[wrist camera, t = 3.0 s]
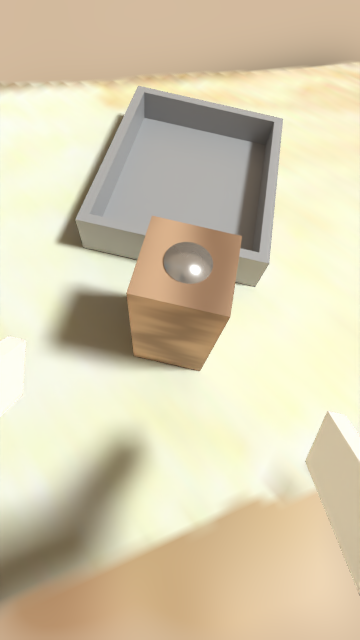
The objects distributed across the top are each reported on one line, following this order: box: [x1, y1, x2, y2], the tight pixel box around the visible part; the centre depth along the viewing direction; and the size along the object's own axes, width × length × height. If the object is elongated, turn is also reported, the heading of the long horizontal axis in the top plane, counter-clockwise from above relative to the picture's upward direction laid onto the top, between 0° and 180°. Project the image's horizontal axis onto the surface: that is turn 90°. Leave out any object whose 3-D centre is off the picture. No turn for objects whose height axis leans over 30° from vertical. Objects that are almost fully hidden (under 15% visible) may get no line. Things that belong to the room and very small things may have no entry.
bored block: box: [126, 216, 242, 371], centre depth 24 cm, size 6×6×11 cm
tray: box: [75, 86, 283, 286], centre depth 35 cm, size 18×22×4 cm
